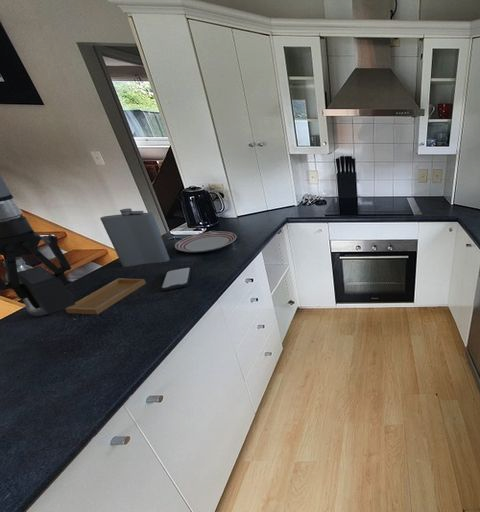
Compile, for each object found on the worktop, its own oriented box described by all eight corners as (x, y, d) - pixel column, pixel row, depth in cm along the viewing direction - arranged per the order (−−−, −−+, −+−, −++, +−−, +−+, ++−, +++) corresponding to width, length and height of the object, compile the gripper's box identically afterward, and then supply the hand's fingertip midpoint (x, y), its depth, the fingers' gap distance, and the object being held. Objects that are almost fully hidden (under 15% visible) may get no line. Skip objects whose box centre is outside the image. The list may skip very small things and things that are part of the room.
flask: (171, 257, 129) (152, 206, 118) (168, 261, 125) (148, 208, 114) (126, 262, 124) (101, 209, 113) (121, 267, 120) (95, 212, 109)
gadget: (29, 298, 75) (11, 272, 71) (55, 289, 78) (40, 264, 75) (48, 314, 69) (30, 287, 65) (75, 304, 73) (59, 278, 69)
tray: (67, 313, 91) (64, 308, 91) (120, 282, 109) (118, 278, 108) (97, 314, 91) (94, 309, 90) (146, 283, 109) (144, 279, 108)
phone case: (167, 274, 115) (161, 292, 103) (166, 271, 115) (160, 289, 102) (192, 269, 119) (189, 286, 107) (191, 266, 119) (188, 283, 106)
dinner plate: (199, 235, 155) (198, 229, 153) (247, 236, 154) (245, 230, 152) (162, 256, 130) (160, 250, 128) (218, 258, 129) (217, 251, 128)
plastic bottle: (38, 309, 93) (2, 257, 84) (65, 304, 96) (33, 253, 87) (27, 321, 88) (-13, 266, 79) (56, 315, 90) (21, 262, 82)
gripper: (-68, 234, 54) (3, 325, 65) (60, 211, 69) (101, 288, 79) (-74, 227, 58) (-6, 315, 68) (49, 207, 72) (90, 282, 82)
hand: (51, 300), depth 73 cm, fingers closed on gadget, 5 cm apart
